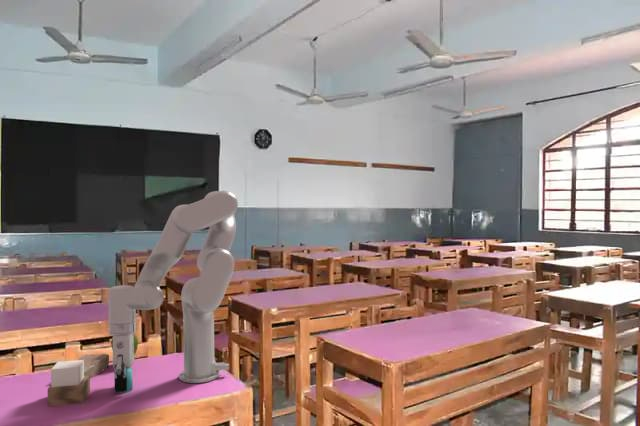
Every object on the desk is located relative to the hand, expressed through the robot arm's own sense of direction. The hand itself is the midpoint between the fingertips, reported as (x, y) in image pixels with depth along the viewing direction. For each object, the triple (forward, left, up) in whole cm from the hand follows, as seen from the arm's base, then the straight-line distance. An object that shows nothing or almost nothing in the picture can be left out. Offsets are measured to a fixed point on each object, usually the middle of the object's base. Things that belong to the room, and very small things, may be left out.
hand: (123, 385), depth 150 cm
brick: (+14, -18, -2) cm, 23 cm away
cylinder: (0, 0, -1) cm, 1 cm away
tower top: (+14, +3, +3) cm, 15 cm away
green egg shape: (+3, -25, -1) cm, 25 cm away
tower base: (+14, +3, -2) cm, 14 cm away
